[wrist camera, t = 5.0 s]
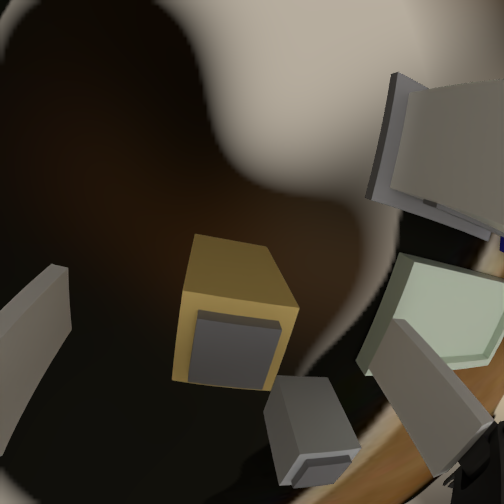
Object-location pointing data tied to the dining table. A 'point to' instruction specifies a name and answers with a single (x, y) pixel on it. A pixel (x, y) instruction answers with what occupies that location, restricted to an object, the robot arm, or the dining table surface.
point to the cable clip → (502, 244)
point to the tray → (441, 311)
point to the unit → (443, 154)
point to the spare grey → (308, 432)
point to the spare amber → (232, 316)
